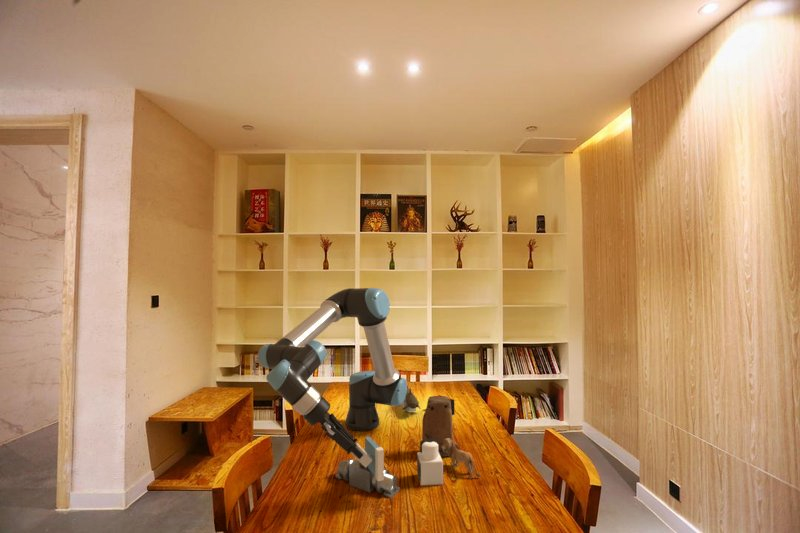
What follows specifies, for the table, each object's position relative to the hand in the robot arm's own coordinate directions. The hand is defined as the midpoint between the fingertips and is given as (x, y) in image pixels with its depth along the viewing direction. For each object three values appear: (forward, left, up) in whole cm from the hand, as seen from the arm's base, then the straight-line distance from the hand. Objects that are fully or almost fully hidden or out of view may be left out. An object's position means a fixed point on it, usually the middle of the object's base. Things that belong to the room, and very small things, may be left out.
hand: (368, 462), depth 107 cm
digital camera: (-66, +45, -10) cm, 81 cm away
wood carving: (-76, +29, -10) cm, 82 cm away
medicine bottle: (-6, +20, -10) cm, 24 cm away
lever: (-3, +1, -4) cm, 5 cm away
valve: (-8, 0, -10) cm, 13 cm away
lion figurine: (-10, +32, -10) cm, 35 cm away
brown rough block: (-23, +28, -10) cm, 38 cm away
